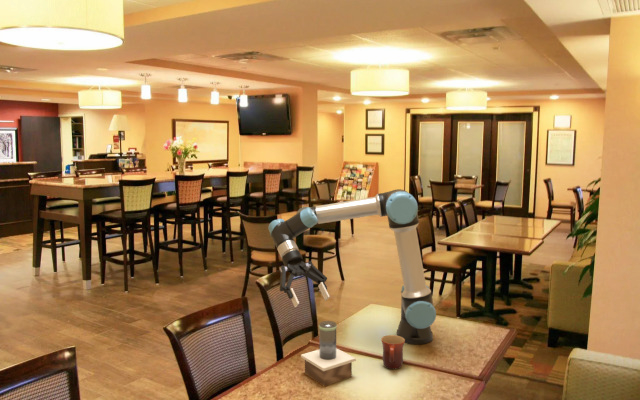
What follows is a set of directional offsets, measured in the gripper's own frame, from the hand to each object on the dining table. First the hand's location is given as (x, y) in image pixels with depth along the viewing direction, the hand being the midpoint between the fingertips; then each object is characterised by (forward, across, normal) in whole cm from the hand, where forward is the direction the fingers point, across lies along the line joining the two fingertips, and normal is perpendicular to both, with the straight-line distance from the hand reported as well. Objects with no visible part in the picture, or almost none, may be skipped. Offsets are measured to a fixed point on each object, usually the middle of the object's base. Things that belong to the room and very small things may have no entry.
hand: (312, 302), depth 189 cm
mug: (+31, -23, -4) cm, 38 cm away
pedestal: (+24, 0, -11) cm, 26 cm away
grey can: (+19, 0, -6) cm, 20 cm away
